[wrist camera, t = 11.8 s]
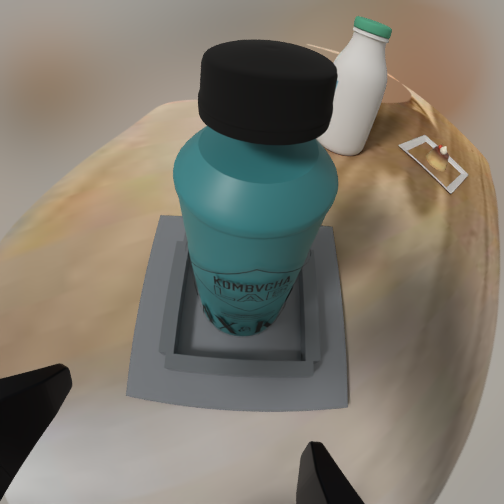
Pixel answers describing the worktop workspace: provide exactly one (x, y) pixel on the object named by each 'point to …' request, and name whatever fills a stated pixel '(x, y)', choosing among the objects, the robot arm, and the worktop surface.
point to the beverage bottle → (256, 177)
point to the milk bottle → (358, 88)
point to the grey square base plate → (234, 348)
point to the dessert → (436, 160)
